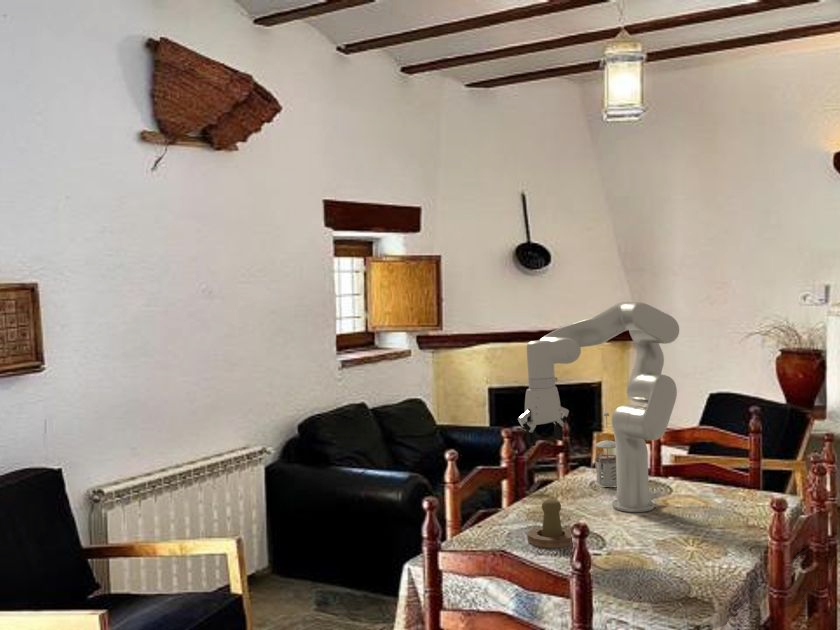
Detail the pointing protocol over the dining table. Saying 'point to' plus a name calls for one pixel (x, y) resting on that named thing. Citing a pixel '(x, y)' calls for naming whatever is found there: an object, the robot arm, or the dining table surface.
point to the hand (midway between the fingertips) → (545, 442)
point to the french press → (606, 464)
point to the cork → (551, 519)
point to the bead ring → (549, 538)
